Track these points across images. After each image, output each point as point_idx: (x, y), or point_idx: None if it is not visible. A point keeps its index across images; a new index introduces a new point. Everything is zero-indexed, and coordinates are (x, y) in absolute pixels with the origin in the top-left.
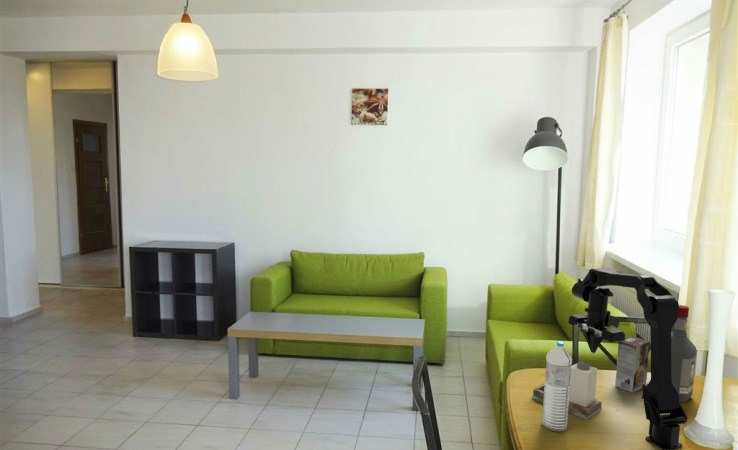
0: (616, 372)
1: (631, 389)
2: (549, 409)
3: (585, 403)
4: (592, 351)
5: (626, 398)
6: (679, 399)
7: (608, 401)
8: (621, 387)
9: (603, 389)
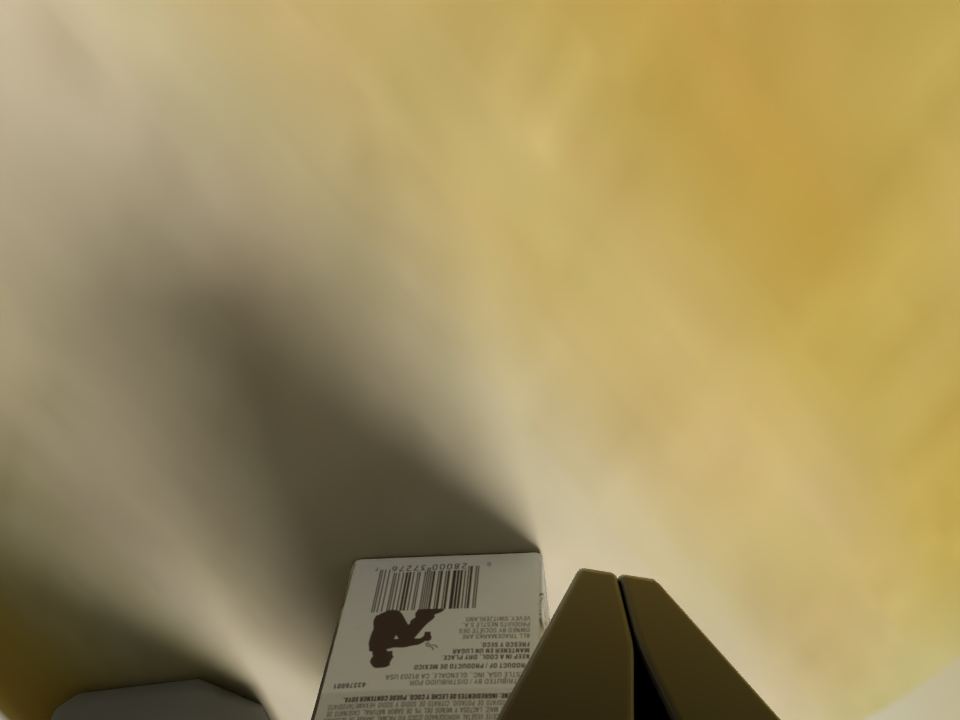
0: None
1: (360, 579)
2: None
3: None
4: (583, 588)
5: (274, 406)
6: (54, 712)
7: (288, 161)
8: (470, 561)
9: (549, 388)
